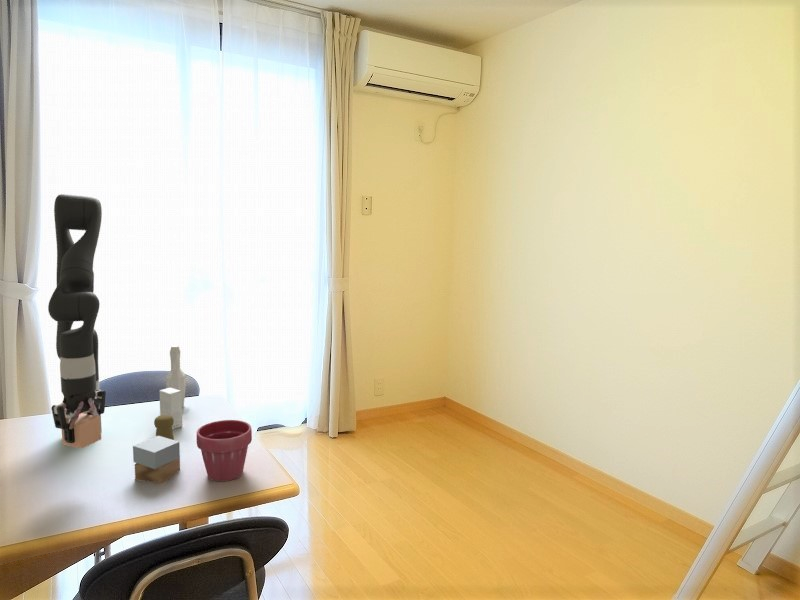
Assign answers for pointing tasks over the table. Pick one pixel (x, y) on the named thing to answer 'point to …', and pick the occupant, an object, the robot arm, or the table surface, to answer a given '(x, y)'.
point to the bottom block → (157, 472)
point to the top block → (156, 452)
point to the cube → (85, 431)
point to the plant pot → (224, 448)
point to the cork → (164, 426)
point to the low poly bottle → (176, 373)
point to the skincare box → (171, 405)
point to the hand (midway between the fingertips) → (81, 437)
